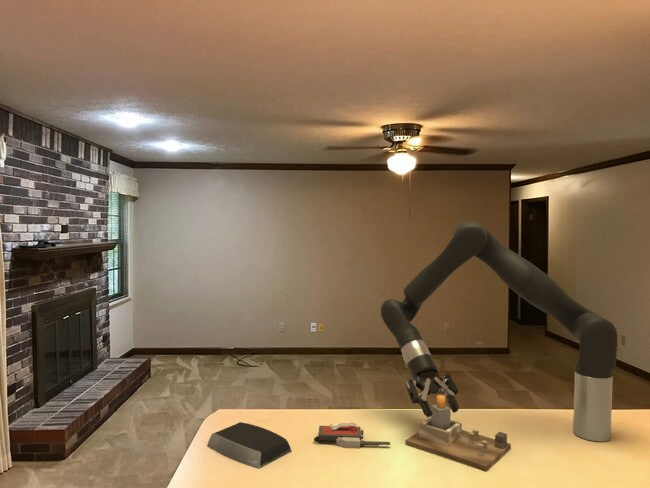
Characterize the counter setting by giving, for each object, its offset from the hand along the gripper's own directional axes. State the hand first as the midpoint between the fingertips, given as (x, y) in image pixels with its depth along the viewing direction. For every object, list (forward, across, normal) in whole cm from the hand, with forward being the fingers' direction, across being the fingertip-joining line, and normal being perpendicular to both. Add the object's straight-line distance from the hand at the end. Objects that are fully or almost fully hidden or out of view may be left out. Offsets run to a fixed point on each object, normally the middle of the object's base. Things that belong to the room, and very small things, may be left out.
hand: (443, 413), depth 135 cm
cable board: (+8, +2, +3) cm, 9 cm away
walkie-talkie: (-2, -22, +14) cm, 26 cm away
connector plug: (+4, 0, +6) cm, 7 cm away
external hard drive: (-6, -48, +19) cm, 52 cm away
